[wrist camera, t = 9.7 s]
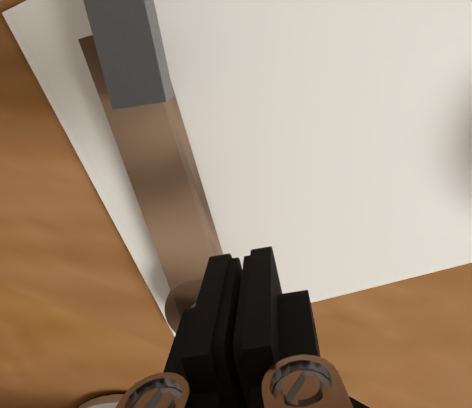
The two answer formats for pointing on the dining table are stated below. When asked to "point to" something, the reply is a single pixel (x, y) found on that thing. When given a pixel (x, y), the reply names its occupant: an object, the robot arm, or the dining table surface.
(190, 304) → the walnut link
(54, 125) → the dining table surface
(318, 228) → the pintle board
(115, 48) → the block
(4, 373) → the dining table surface
